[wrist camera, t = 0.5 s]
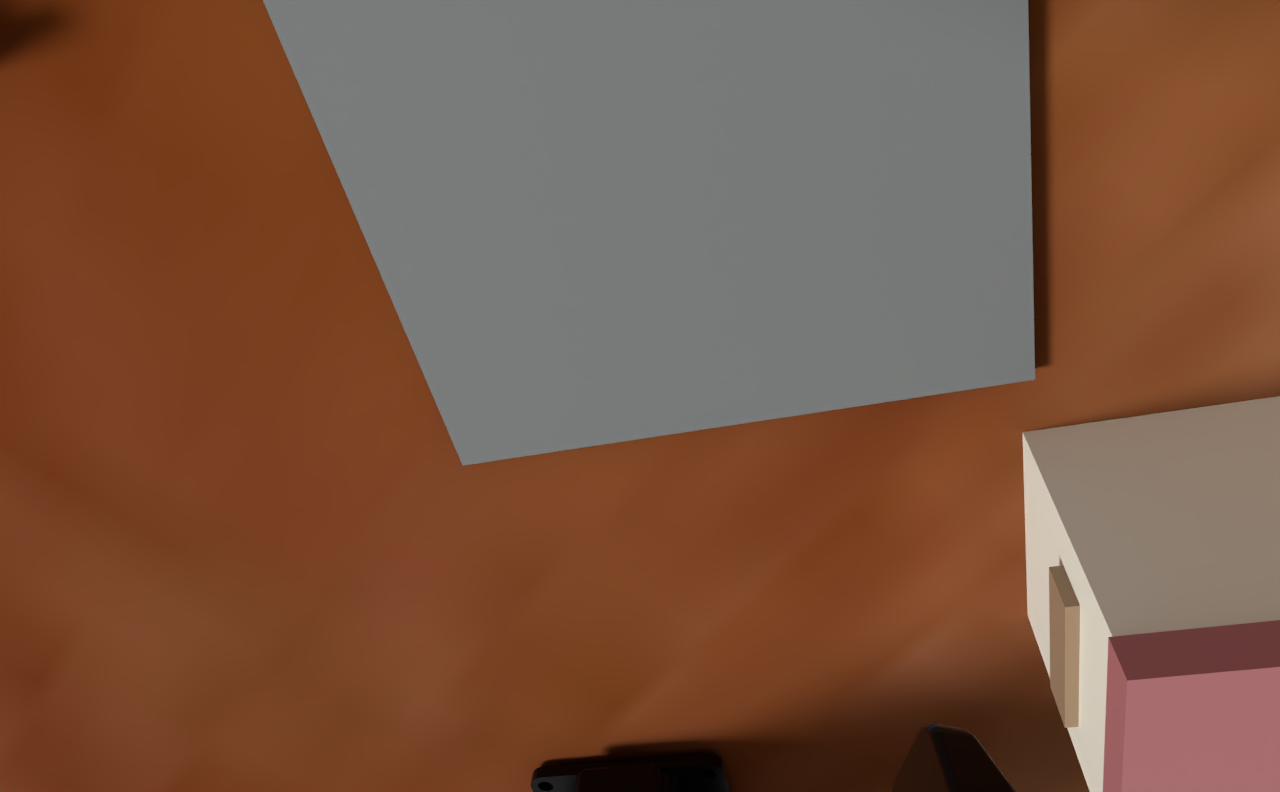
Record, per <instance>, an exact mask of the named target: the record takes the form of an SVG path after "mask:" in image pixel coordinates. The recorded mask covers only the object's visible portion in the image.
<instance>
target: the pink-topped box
mask: <svg viewBox="0 0 1280 792" xmlns="http://www.w3.org/2000/svg"><path fill="white" fill-rule="evenodd" d="M1023 463H1024V499H1025V534H1026V570H1027V606H1028V618H1029V620H1030V623H1031V626H1032V629H1033V632H1034V635H1035V638H1036V640H1037V643H1038V646H1039V649H1040V652H1041V655H1042V657H1043V660H1044V663H1045V666H1046V669H1047V672H1048V675H1049V677H1050V687H1051V690H1052V693H1053V696H1054V698H1055V701H1056V704H1057V707H1058V710H1059V713H1060V716H1061V718H1062V721H1063V724H1064V727H1065V728H1067V729H1068V731H1069V734H1070V737H1071V740H1072V743H1073V746H1074V749H1075V751H1076V754H1077V757H1078V760H1079V763H1080V766H1081V768H1082V771H1083V774H1084V777H1085V780H1086V783H1087V786H1088V788H1089V791H1090V792H1280V396H1278V397H1271V398H1263V399H1256V400H1249V401H1242V402H1235V403H1228V404H1221V405H1213V406H1206V407H1199V408H1192V409H1185V410H1178V411H1171V412H1163V413H1156V414H1149V415H1142V416H1135V417H1128V418H1121V419H1113V420H1106V421H1099V422H1092V423H1085V424H1078V425H1071V426H1064V427H1056V428H1049V429H1042V430H1035V431H1028V432H1023Z"/></svg>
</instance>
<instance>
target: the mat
mask: <svg viewBox="0 0 1280 792" xmlns="http://www.w3.org/2000/svg"><path fill="white" fill-rule="evenodd" d="M263 2H264V4H265V6H266V9H267V11H268V13H269V16H270V18H271V20H272V23H273V25H274V27H275V30H276V32H277V34H278V37H279V39H280V41H281V44H282V46H283V48H284V51H285V53H286V55H287V58H288V60H289V62H290V65H291V67H292V69H293V72H294V74H295V76H296V79H297V81H298V83H299V86H300V88H301V90H302V92H303V95H304V97H305V99H306V102H307V104H308V106H309V109H310V111H311V113H312V116H313V118H314V120H315V123H316V125H317V127H318V130H319V132H320V134H321V137H322V139H323V141H324V144H325V146H326V148H327V151H328V153H329V155H330V158H331V160H332V162H333V165H334V167H335V169H336V172H337V174H338V176H339V179H340V181H341V183H342V186H343V188H344V190H345V193H346V195H347V197H348V200H349V202H350V204H351V207H352V209H353V211H354V213H355V216H356V218H357V220H358V223H359V225H360V227H361V230H362V232H363V234H364V237H365V239H366V241H367V244H368V246H369V248H370V251H371V253H372V255H373V258H374V260H375V262H376V265H377V267H378V269H379V272H380V274H381V276H382V279H383V281H384V283H385V286H386V288H387V290H388V293H389V295H390V297H391V300H392V302H393V304H394V307H395V309H396V311H397V314H398V316H399V318H400V321H401V323H402V325H403V328H404V330H405V332H406V334H407V337H408V339H409V341H410V344H411V346H412V348H413V351H414V353H415V355H416V358H417V360H418V362H419V365H420V367H421V369H422V372H423V374H424V376H425V379H426V381H427V383H428V386H429V388H430V390H431V393H432V395H433V397H434V400H435V402H436V404H437V407H438V409H439V411H440V414H441V416H442V418H443V421H444V423H445V425H446V428H447V430H448V432H449V435H450V437H451V439H452V442H453V444H454V446H455V449H456V451H457V453H458V455H459V458H460V460H461V462H462V465H469V464H476V463H483V462H489V461H496V460H503V459H509V458H516V457H523V456H529V455H536V454H543V453H549V452H556V451H563V450H569V449H576V448H583V447H589V446H596V445H603V444H609V443H616V442H623V441H629V440H636V439H643V438H649V437H656V436H663V435H669V434H676V433H683V432H689V431H696V430H703V429H709V428H716V427H723V426H729V425H736V424H743V423H749V422H756V421H763V420H769V419H776V418H783V417H789V416H796V415H803V414H809V413H816V412H823V411H829V410H836V409H843V408H849V407H856V406H863V405H869V404H876V403H883V402H889V401H896V400H903V399H909V398H916V397H923V396H929V395H936V394H943V393H949V392H956V391H963V390H969V389H976V388H983V387H989V386H996V385H1003V384H1009V383H1016V382H1023V381H1030V380H1035V344H1034V290H1033V235H1032V181H1031V127H1030V73H1029V19H1028V0H263Z"/></svg>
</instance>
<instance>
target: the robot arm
mask: <svg viewBox="0 0 1280 792" xmlns="http://www.w3.org/2000/svg"><path fill="white" fill-rule="evenodd" d="M531 788H532V790H533V792H733V791H732V788H731V785H730V781H729V778H728V775H727V772H726V768H725V765H724V762H723V760H722V759H721V758H720V757H719V756H717V755H714V754H706V753H705V754H693V755H680V756H668V757H656V758H644V759H632V760H619V761H607V762H595V763H583V764H571V765H558V766H546V767H540V768H537V769H536V770H534V772H533V775H532V780H531ZM892 792H1016V791H1015V789H1014V788H1013V786H1012V785H1011V784H1010V782H1009V781H1008V780H1007V778H1006V777H1005V776H1004V774H1003V773H1002V772H1001V770H1000V769H999V768H998V766H997V765H996V763H995V762H994V761H993V759H992V758H991V757H990V755H989V754H988V753H987V751H986V750H985V749H984V747H983V746H982V745H981V743H980V742H979V740H978V739H977V738H976V737H975V736H974V735H973V734H972V733H971V732H970V731H968V730H966V729H963V728H959V727H954V726H949V725H943V724H938V723H927V724H925V725H924V726H922V727H921V729H920V730H919V732H918V734H917V735H916V737H915V739H914V741H913V743H912V745H911V746H910V748H909V750H908V752H907V754H906V756H905V757H904V759H903V761H902V763H901V765H900V767H899V769H898V770H897V773H896V775H895V778H894V782H893V788H892Z"/></svg>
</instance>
